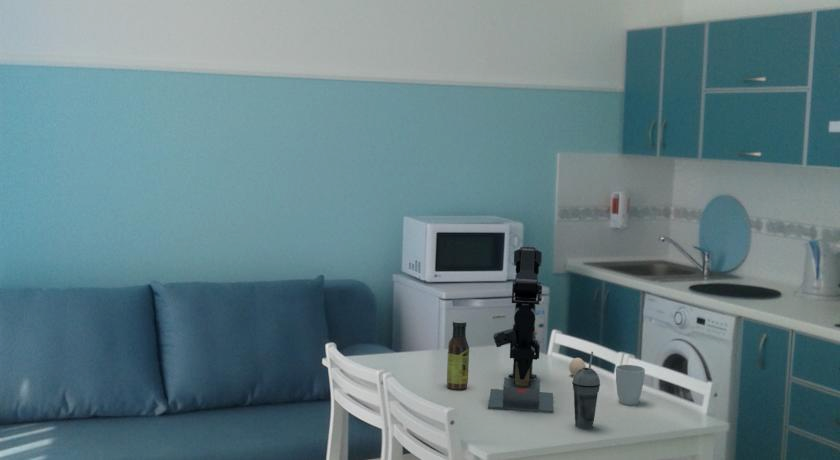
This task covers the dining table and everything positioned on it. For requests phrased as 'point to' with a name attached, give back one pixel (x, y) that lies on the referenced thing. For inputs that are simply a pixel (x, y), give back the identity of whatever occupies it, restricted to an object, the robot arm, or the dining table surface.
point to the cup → (629, 383)
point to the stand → (521, 397)
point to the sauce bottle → (458, 357)
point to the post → (517, 377)
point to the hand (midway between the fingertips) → (522, 376)
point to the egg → (576, 365)
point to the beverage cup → (585, 396)
